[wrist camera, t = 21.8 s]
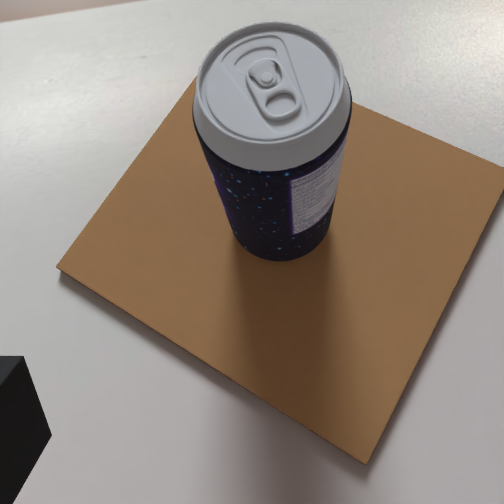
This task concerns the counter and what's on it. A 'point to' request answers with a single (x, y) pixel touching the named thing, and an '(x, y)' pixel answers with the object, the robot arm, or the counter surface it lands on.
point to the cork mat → (297, 270)
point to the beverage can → (274, 134)
